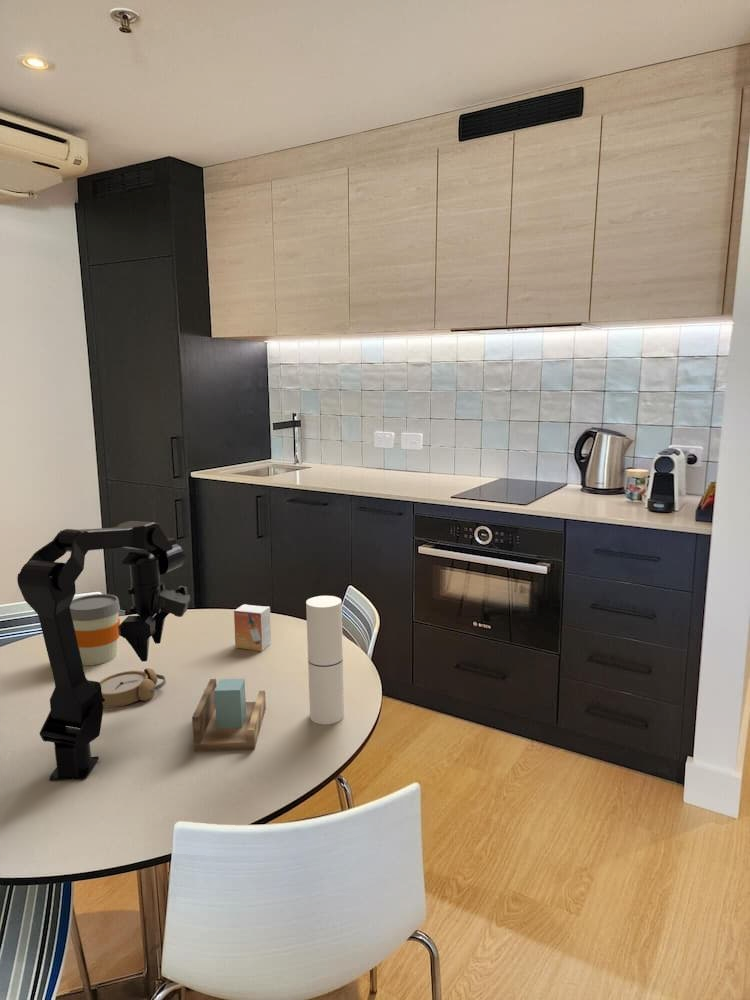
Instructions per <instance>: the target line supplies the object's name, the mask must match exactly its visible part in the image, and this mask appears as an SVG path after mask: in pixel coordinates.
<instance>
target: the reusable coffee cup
mask: <svg viewBox="0 0 750 1000" xmlns="http://www.w3.org/2000/svg"><path fill="white" fill-rule="evenodd" d="M120 610H121V606H120V600H119V598H118V596H117V595H114V594H106V593H105V594H104V593H101V594H100V593H99V594H98V593H97V594H89V595H85V596H80V597H77V598H73V600H72V602H71V605H70V611H71V616H72V620H73V624H74V629H75V633H76V638H77V642H78V647H79V651H80V655H81V660H82V664H83V666H84V665H85V666H96V665H101V663H102V664H105V662H106V663H109V662H111V661H113V660H114V659H115V658H116V657H117V655H116V654H117V653H118V652H117V651H118V639H119V638H120V636H119V630H118V626H119V625H120V624H121V619H120V617H119V613H120ZM114 657H115V658H114ZM113 658H114V659H113ZM112 659H113V660H112ZM110 660H111V661H110ZM108 661H109V662H108Z"/></svg>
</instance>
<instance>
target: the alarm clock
mask: <svg viewBox="0 0 750 1000" xmlns="http://www.w3.org/2000/svg"><path fill="white" fill-rule="evenodd" d="M158 679H159V680H162V681H161V682H160V683H158ZM166 681H167V680H166V677H165V676H164V675H162V674H158V673H156V671H155V670H154V669H152V668H150V667H146V668H144V671H141V670H127V671H123V672H122V671H121V672H117V673H115V674H112V675H109V676H107V677H105V678H103V679H101V680H100V681H98V682H99V683H100V685H101V691H102V696H103V698H104V699H105V701H104V702H102V703H103V707H104V706H108V707H107V708H115V707H117V708H118V707H123V706H127V705H130V704H133V703H135V702H137V701H143V702H145V701H149V700H151V699H152V697H153V696H154V695H155V692H156V691H157V690H159V689H161V688H163V687H164V686H165V685H166V684H167V682H166ZM157 683H158V684H157Z"/></svg>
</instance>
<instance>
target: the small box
mask: <svg viewBox="0 0 750 1000" xmlns="http://www.w3.org/2000/svg"><path fill="white" fill-rule="evenodd" d="M233 616H234V617H233V619H234V622H233V623H234V642H235V643H234V647H235V648H236V649H243V650H251V651H256V652H257V651H258V652H263V651H265V649H267V647H269V646H270V645H271V644H272V630H271V629H272V626H271V624H272V623H271V607H270V606H268V605H267V606H264V605H263V606H262V605H254V604H253V605H252V604H246V603H244V604H242V605H240V606H239V607H237V608H236V609H234V611H233Z"/></svg>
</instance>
